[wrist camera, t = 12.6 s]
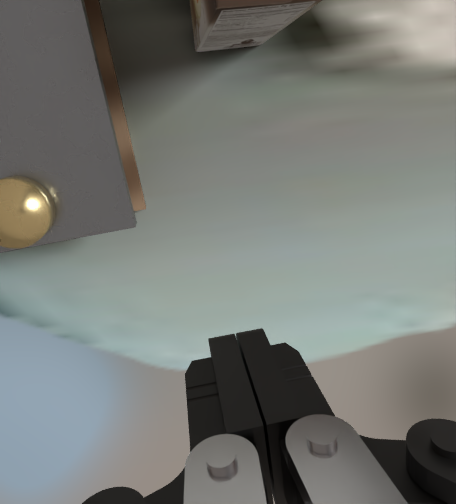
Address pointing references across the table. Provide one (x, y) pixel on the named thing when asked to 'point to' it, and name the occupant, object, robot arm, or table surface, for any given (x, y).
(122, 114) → the walnut base
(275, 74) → the table surface
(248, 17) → the coffee box
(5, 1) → the level plate
